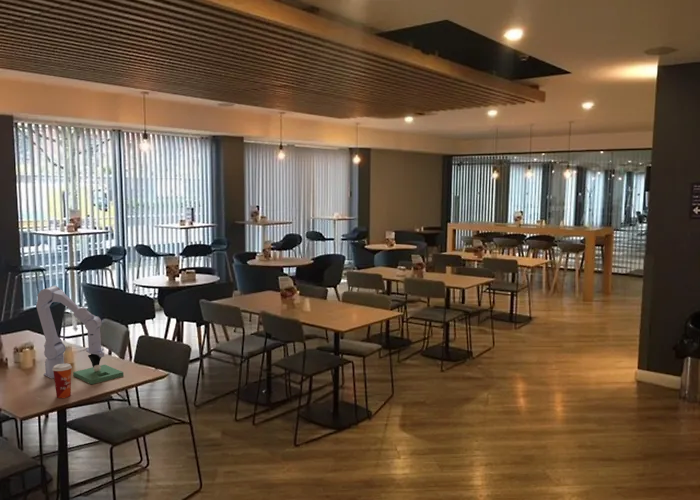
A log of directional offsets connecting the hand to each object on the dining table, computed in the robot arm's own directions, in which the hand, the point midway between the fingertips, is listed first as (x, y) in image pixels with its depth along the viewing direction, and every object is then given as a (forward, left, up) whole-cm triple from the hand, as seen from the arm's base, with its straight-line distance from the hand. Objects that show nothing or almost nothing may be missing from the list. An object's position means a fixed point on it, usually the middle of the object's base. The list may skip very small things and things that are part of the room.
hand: (96, 368), depth 287 cm
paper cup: (+18, -23, -3) cm, 29 cm away
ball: (+1, 0, 0) cm, 1 cm away
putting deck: (+3, 0, -3) cm, 4 cm away
